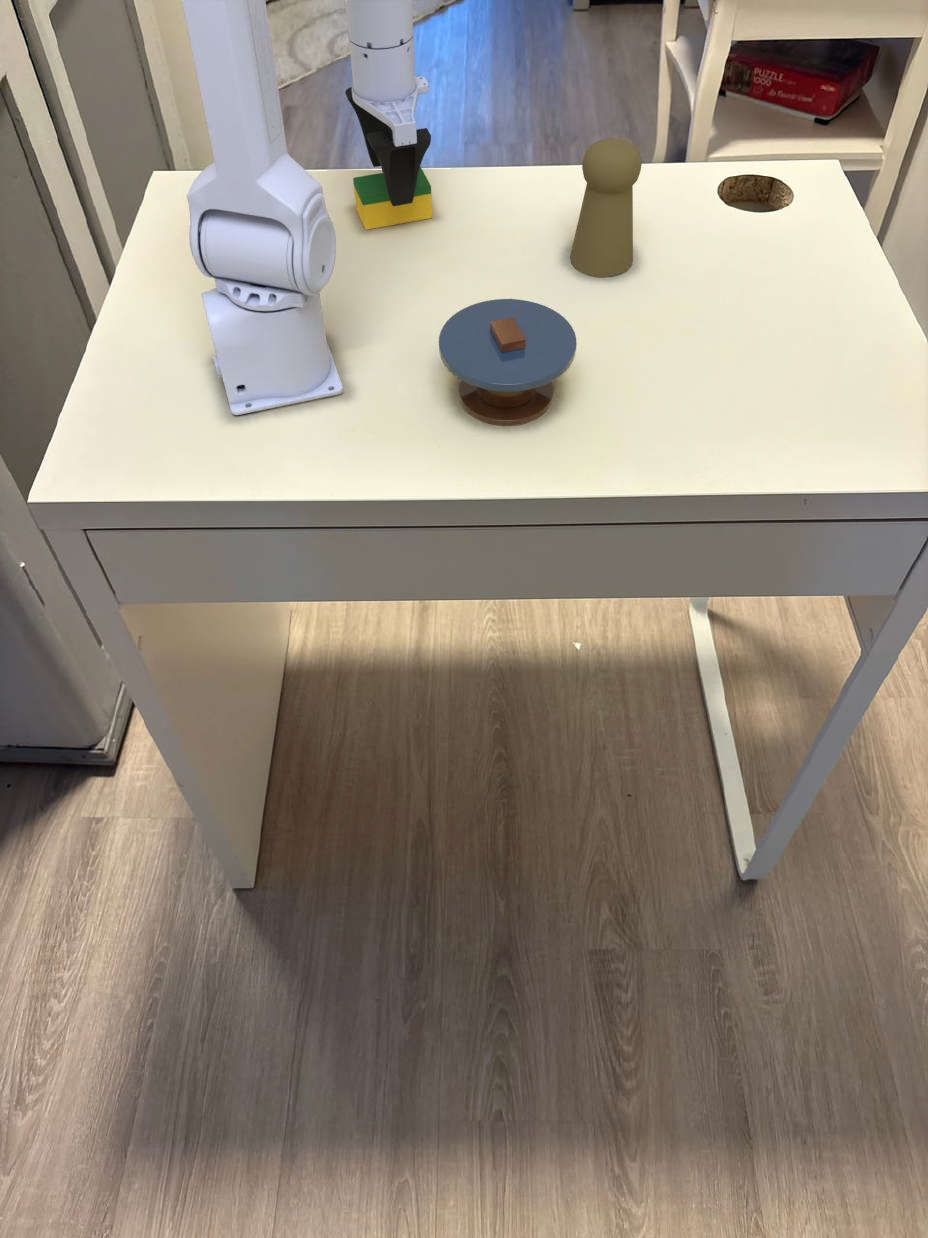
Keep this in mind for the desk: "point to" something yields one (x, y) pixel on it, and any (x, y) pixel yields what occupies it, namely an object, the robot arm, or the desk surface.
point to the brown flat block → (507, 335)
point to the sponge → (378, 206)
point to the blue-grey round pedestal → (507, 360)
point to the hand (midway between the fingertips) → (392, 182)
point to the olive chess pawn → (607, 209)
